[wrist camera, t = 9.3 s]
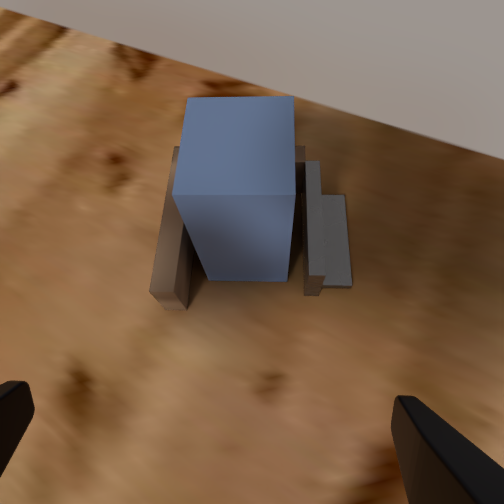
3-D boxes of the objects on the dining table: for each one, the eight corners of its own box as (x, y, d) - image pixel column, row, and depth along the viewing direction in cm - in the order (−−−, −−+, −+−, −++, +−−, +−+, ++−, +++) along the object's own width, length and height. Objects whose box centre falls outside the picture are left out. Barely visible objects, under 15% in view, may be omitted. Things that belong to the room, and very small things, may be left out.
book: (287, 281, 21) (295, 195, 13) (208, 280, 21) (171, 195, 13) (286, 206, 23) (293, 95, 15) (215, 206, 23) (187, 97, 15)
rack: (304, 313, 20) (309, 294, 17) (165, 309, 20) (149, 291, 17) (301, 178, 24) (305, 145, 21) (185, 177, 24) (174, 146, 21)
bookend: (351, 296, 20) (364, 276, 17) (304, 295, 20) (309, 275, 17) (342, 192, 23) (352, 160, 20) (301, 192, 23) (305, 160, 20)
